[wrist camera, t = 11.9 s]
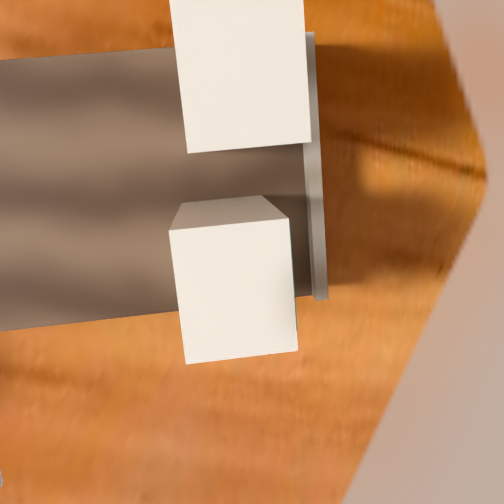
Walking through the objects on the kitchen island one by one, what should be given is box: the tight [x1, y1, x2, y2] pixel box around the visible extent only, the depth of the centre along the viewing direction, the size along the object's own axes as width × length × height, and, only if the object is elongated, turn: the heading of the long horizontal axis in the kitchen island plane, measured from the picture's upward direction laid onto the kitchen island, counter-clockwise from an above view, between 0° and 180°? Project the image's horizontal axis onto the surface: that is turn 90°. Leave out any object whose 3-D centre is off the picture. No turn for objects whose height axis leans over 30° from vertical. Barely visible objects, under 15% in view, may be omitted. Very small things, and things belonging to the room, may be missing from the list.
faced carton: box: [169, 0, 311, 153], centre depth 23 cm, size 5×6×10 cm
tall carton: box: [169, 195, 298, 364], centre depth 24 cm, size 5×6×10 cm
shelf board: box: [0, 32, 329, 332], centre depth 28 cm, size 16×22×3 cm
